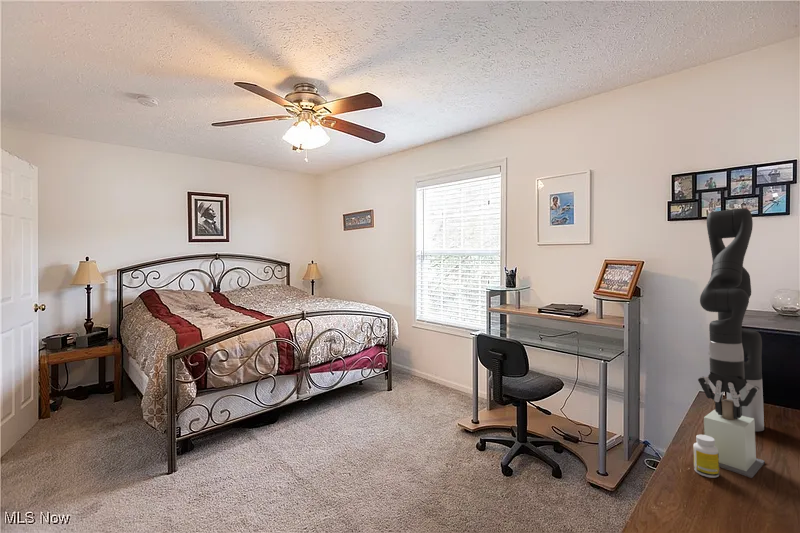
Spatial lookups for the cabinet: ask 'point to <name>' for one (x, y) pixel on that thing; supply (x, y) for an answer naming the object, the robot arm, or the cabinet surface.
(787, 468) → the cabinet surface
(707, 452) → the supplement bottle
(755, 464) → the mat
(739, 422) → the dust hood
